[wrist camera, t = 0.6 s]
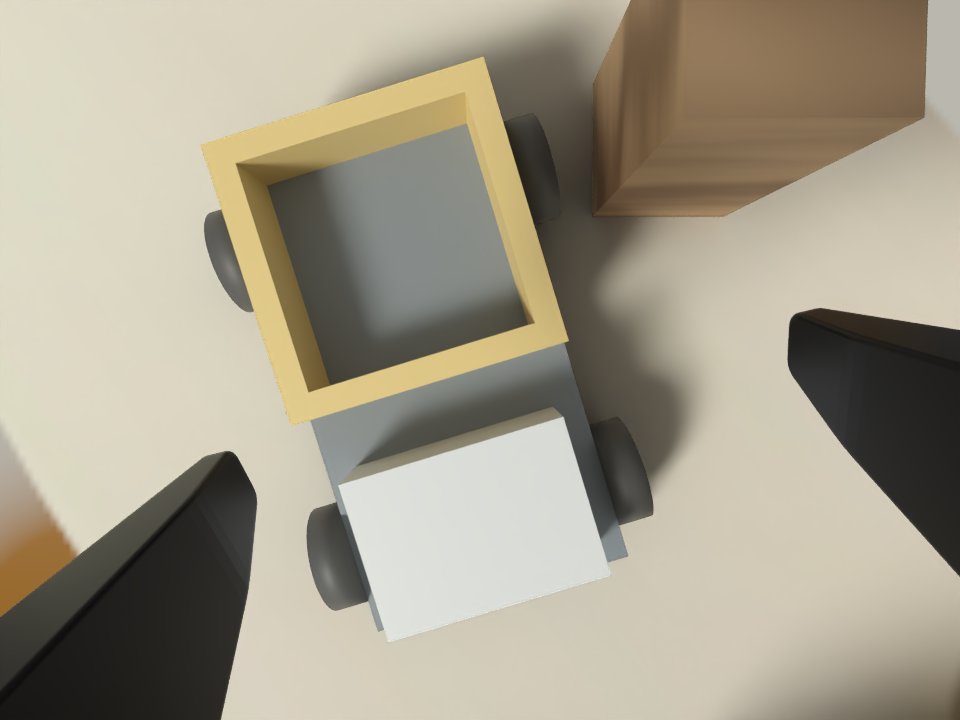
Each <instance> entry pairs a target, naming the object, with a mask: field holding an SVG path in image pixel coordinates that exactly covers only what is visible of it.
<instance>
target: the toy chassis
mask: <svg viewBox="0 0 960 720" xmlns="http://www.w3.org/2000/svg"><path fill="white" fill-rule="evenodd" d="M201 147H202V151H203V154H204V157H205V160H206V163H207V166H208V169H209V172H210V175H211V179H212V182H213V185H214V188H215V191H216V194H217V197H218V200H219V203H220V207H221V210H218V211H215V212H212V213H209V214H208V215H207V216H206V219H205V223H204V234H205V241H206V245H207V250H208V253H209V256H210V259H211V262H212V265H213V267H214V270H215V272H216V274H217V276H218V278H219V280H220V282H221V284H222V285H223V287H224V289H225V290H226V292H227V293H228V295H229V296H230V297H231V299H232V300H233V301H234V302H235V303H236V304H237V305H238V306H239V307H240V308H241V309H243V310H244V311H246V312H253V311H254V312H255V316H256V319H257V322H258V325H259V328H260V331H261V334H262V337H263V341H264V344H265V347H266V350H267V353H268V356H269V359H270V362H271V365H272V369H273V372H274V375H275V378H276V381H277V384H278V387H279V390H280V393H281V397H282V400H283V403H284V406H285V409H286V412H287V415H288V418H289V421H290V425H291V426H293V425H296V424H299V423H303V422H306V421H309V420H311V423H312V426H313V429H314V433H315V436H316V439H317V442H318V445H319V448H320V451H321V454H322V458H323V461H324V464H325V467H326V470H327V473H328V476H329V480H330V483H331V486H332V489H333V492H334V495H335V498H336V501H337V502H336V503H333V504H329V505H326V506H323V507H320V508H316V509H314V510H313V511H312V512H311V514H310V516H309V520H308V524H307V550H308V557H309V563H310V567H311V571H312V575H313V578H314V581H315V584H316V587H317V589H318V591H319V593H320V595H321V597H322V599H323V601H324V602H325V603H326V605H327V606H328V607H329V608H331V609H332V610H335V611H337V610H341V609H344V608H347V607H351V606H354V605H357V604H361V603H364V602H367V601H368V602H369V605H370V608H371V611H372V614H373V617H374V620H375V623H376V627H377V630H378V632H379V631H382V630H384V631H385V634H386V637H387V640H388V643H389V642H392V641H395V640H399V639H402V638H405V637H409V636H412V635H415V634H419V633H422V632H425V631H428V630H432V629H435V628H438V627H442V626H445V625H448V624H452V623H455V622H458V621H462V620H465V619H468V618H472V617H475V616H478V615H482V614H485V613H488V612H492V611H495V610H498V609H502V608H505V607H508V606H512V605H515V604H518V603H522V602H525V601H528V600H532V599H535V598H538V597H541V596H545V595H548V594H551V593H555V592H558V591H561V590H565V589H568V588H571V587H575V586H578V585H581V584H585V583H588V582H591V581H595V580H598V579H601V578H605V577H608V576H611V573H610V570H609V566H608V562H611V561H614V560H618V559H621V558H624V557H627V556H628V553H627V550H626V547H625V543H624V540H623V537H622V533H621V530H620V527H619V525H622V524H626V523H629V522H632V521H636V520H639V519H642V518H645V517H649V516H652V515H653V500H652V494H651V490H650V486H649V482H648V478H647V475H646V472H645V469H644V466H643V463H642V460H641V458H640V455H639V453H638V450H637V448H636V446H635V443H634V441H633V439H632V437H631V435H630V433H629V431H628V429H627V428H626V426H625V424H624V423H623V422H622V420H621V419H620V418H618V417H616V418H612V419H609V420H606V421H602V422H599V423H596V424H593V425H589V423H588V420H587V417H586V413H585V410H584V407H583V403H582V400H581V397H580V393H579V390H578V387H577V383H576V380H575V377H574V373H573V370H572V367H571V363H570V360H569V357H568V353H567V350H566V347H565V343H564V342H567V341H569V340H568V337H567V333H566V330H565V327H564V323H563V320H562V317H561V313H560V310H559V307H558V303H557V300H556V297H555V293H554V290H553V287H552V283H551V280H550V277H549V273H548V270H547V267H546V263H545V260H544V257H543V253H542V250H541V246H540V243H539V240H538V236H537V233H536V230H535V226H534V225H536V224H539V223H542V222H545V221H549V220H552V219H555V218H558V217H559V214H560V196H559V188H558V182H557V177H556V172H555V167H554V163H553V159H552V156H551V152H550V149H549V145H548V142H547V140H546V137H545V134H544V131H543V129H542V127H541V125H540V123H539V121H538V119H537V117H536V116H535V115H534V114H533V113H531V114H527V115H524V116H521V117H518V118H515V119H511V120H508V121H505V122H503V120H502V116H501V113H500V110H499V106H498V103H497V100H496V96H495V93H494V90H493V86H492V83H491V80H490V76H489V73H488V70H487V66H486V63H485V60H484V56H483V57H480V58H477V59H474V60H471V61H467V62H464V63H461V64H458V65H455V66H451V67H448V68H445V69H442V70H438V71H435V72H432V73H429V74H426V75H422V76H419V77H416V78H413V79H410V80H406V81H403V82H400V83H397V84H394V85H390V86H387V87H384V88H381V89H378V90H374V91H371V92H368V93H365V94H362V95H358V96H355V97H352V98H349V99H345V100H342V101H339V102H336V103H333V104H329V105H326V106H323V107H320V108H317V109H313V110H310V111H307V112H304V113H301V114H297V115H294V116H291V117H288V118H285V119H281V120H278V121H275V122H272V123H269V124H265V125H262V126H259V127H256V128H252V129H249V130H246V131H243V132H240V133H236V134H233V135H230V136H227V137H224V138H220V139H217V140H214V141H211V142H208V143H204V144H201Z"/></svg>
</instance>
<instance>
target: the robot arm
mask: <svg viewBox="0 0 960 720" xmlns="http://www.w3.org/2000/svg"><path fill="white" fill-rule="evenodd" d="M788 367H789V370H790V372H791V374H792V376H793V377H794V379H795V380H796V381H797V383H798V384H799V386H800V387H801V389H802V390H803V391H804V393H805V394H806V396H807V397H808V398H809V400H810V401H811V403H812V404H813V405H814V407H815V408H816V410H817V411H818V412H819V414H820V415H821V417H822V418H823V419H824V421H825V422H826V424H827V425H828V426H829V428H830V429H831V431H832V432H833V433H834V435H835V436H836V437H837V439H838V440H839V441H840V443H841V444H842V445H843V447H844V448H845V449H846V450H847V451H848V452H849V454H850V455H851V456H852V457H853V458H854V459H855V461H856V462H857V463H858V464H859V465H860V466H861V467H862V468H863V470H864V471H865V472H866V473H867V474H868V475H869V476H870V477H871V478H872V480H873V481H874V482H875V483H876V484H877V485H878V486H879V487H880V488H881V490H882V491H883V492H884V493H885V494H886V495H887V496H888V497H889V498H890V500H891V501H892V502H893V503H894V504H895V505H896V506H897V507H898V509H899V510H900V511H901V512H902V513H903V514H904V515H905V516H906V517H907V519H908V520H909V521H910V522H911V523H912V524H913V525H914V526H915V527H916V529H917V530H918V531H919V532H920V533H921V534H922V535H923V536H924V537H925V539H926V540H927V541H928V542H929V543H930V544H931V545H932V546H933V548H934V549H935V550H936V551H937V552H938V553H939V554H940V555H941V556H942V558H943V559H944V560H945V561H946V562H947V563H948V564H949V565H950V566H951V568H952V569H953V570H954V571H955V572H956V573H957V574H958V575H959V577H960V330H956V329H950V328H943V327H937V326H931V325H924V324H918V323H912V322H906V321H899V320H893V319H887V318H880V317H874V316H868V315H862V314H855V313H849V312H843V311H837V310H830V309H824V308H817V309H812V310H808V311H804V312H800V313H797V314H795V315H794V316H793V317H792V318H791V320H790V324H789V339H788ZM256 510H257V497H256V493H255V490H254V487H253V486H252V484H251V482H250V480H249V478H248V476H247V474H246V472H245V470H244V468H243V467H242V465H241V463H240V461H239V459H238V457H237V456H236V455H235V454H234V453H233V452H230V451H224V452H220V453H216V454H212V455H208V456H205V457H203V458H202V459H201V460H199V461H198V462H197V463H196V464H194V465H193V466H192V467H190V468H189V469H188V470H187V471H185V472H184V473H183V474H182V475H180V476H179V477H178V478H176V479H175V480H174V481H173V482H171V483H170V484H169V485H168V486H166V487H165V488H164V489H162V490H161V491H160V492H159V493H157V494H156V495H155V496H154V497H152V498H151V499H150V500H149V501H147V502H146V503H145V504H143V505H142V506H141V507H140V508H138V509H137V510H136V511H135V512H133V513H132V514H131V515H129V516H128V517H127V518H126V519H124V520H123V521H122V522H121V523H119V524H118V525H117V526H115V527H114V528H113V529H112V530H110V531H109V532H108V533H107V534H105V535H104V536H103V537H101V538H100V539H99V540H98V541H96V542H95V543H94V544H93V545H91V546H90V547H89V548H87V549H86V550H85V551H84V552H82V553H81V554H80V555H79V556H77V557H76V558H75V559H73V560H72V561H71V562H70V563H69V564H67V565H66V566H65V567H64V568H62V569H61V570H59V571H58V572H57V573H56V574H54V575H53V576H52V577H51V578H49V579H48V580H47V581H45V582H44V583H43V584H42V585H40V586H39V587H38V588H37V589H35V590H34V591H33V592H32V593H30V594H29V595H28V596H26V597H25V598H24V599H23V600H21V601H20V602H19V603H17V604H16V605H15V606H14V607H12V608H11V609H10V610H9V611H8V612H6V613H5V614H4V615H2V616H1V617H0V720H221V717H222V712H223V707H224V703H225V698H226V693H227V689H228V684H229V679H230V675H231V670H232V665H233V661H234V656H235V651H236V647H237V642H238V637H239V633H240V628H241V623H242V619H243V614H244V610H245V605H246V600H247V594H248V589H249V581H250V573H251V562H252V552H253V542H254V531H255V521H256Z"/></svg>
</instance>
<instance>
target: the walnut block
mask: <svg viewBox="0 0 960 720" xmlns="http://www.w3.org/2000/svg"><path fill="white" fill-rule="evenodd" d="M927 11H928V0H631V1H630V3H629V6H628V8H627V10H626V12H625V14H624V17H623V19H622V21H621V23H620V26H619V28H618V30H617V32H616V34H615V37H614V39H613V41H612V43H611V46H610V48H609V50H608V52H607V54H606V57H605V59H604V61H603V63H602V66H601V68H600V70H599V72H598V74H597V77H596V79H595V81H594V83H593V213H592V217H723V216H725V215H728V214H730V213H732V212H734V211H736V210H738V209H740V208H742V207H744V206H746V205H748V204H750V203H752V202H754V201H756V200H758V199H760V198H762V197H764V196H766V195H768V194H770V193H772V192H774V191H776V190H778V189H780V188H782V187H784V186H786V185H788V184H790V183H792V182H794V181H797V180H799V179H801V178H803V177H805V176H807V175H809V174H811V173H813V172H815V171H817V170H819V169H821V168H823V167H825V166H827V165H829V164H831V163H833V162H835V161H837V160H839V159H841V158H843V157H845V156H847V155H849V154H851V153H853V152H855V151H857V150H859V149H861V148H863V147H865V146H868V145H870V144H872V143H874V142H876V141H878V140H880V139H882V138H884V137H886V136H888V135H890V134H892V133H894V132H896V131H898V130H900V129H902V128H904V127H906V126H908V125H910V124H912V123H914V122H916V121H918V120H920V119H922V118H924V113H925V79H926V78H925V77H926V46H927V13H928V12H927Z"/></svg>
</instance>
